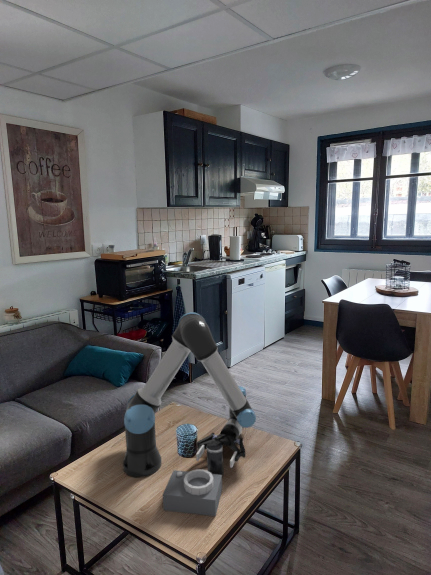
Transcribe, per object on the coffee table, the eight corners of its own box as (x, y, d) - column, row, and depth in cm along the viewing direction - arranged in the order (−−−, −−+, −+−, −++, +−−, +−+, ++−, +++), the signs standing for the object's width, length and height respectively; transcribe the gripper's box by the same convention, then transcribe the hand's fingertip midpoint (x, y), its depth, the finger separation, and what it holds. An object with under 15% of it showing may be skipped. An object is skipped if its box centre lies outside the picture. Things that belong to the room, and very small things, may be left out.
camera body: (163, 510, 134) (162, 487, 132) (174, 484, 146) (173, 464, 145) (215, 516, 130) (215, 493, 129) (222, 489, 143) (221, 468, 141)
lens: (206, 478, 150) (205, 449, 147) (209, 468, 155) (208, 440, 153) (222, 479, 148) (221, 450, 146) (224, 469, 154) (223, 441, 152)
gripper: (259, 445, 165) (245, 476, 145) (204, 435, 173) (184, 463, 154) (259, 428, 163) (245, 458, 144) (203, 419, 172) (183, 445, 152)
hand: (213, 460), depth 149 cm, fingers open, 13 cm apart
